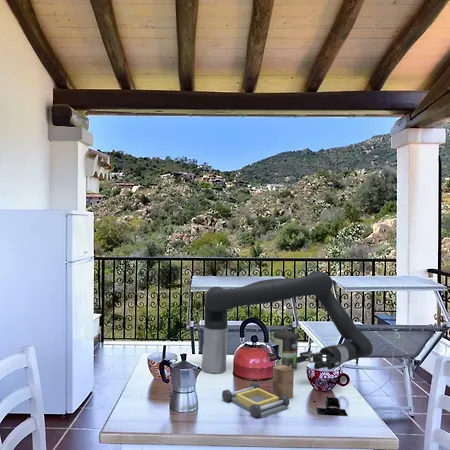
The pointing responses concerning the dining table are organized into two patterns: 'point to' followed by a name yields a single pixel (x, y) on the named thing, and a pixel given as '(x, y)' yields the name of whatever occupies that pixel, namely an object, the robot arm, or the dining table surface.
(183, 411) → the dining table surface
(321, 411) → the black angular machine part
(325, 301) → the robot arm
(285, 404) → the chassis
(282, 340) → the coffee can
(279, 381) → the brown wooden block
